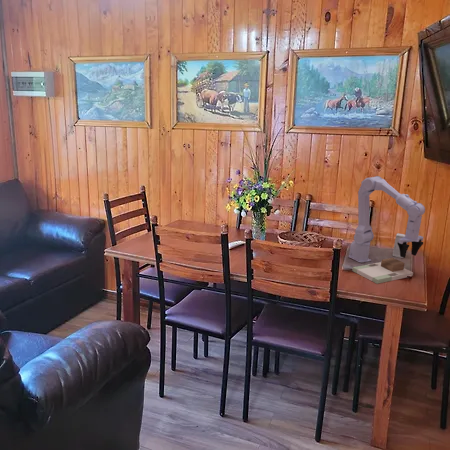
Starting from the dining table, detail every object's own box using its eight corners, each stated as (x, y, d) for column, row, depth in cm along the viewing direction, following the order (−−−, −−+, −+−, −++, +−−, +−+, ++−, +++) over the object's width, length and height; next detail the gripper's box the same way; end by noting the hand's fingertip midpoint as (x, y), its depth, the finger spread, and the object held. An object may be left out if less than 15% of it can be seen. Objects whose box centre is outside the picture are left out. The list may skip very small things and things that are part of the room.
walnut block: (380, 266, 218) (381, 259, 217) (391, 264, 222) (392, 257, 221) (392, 271, 212) (393, 265, 211) (403, 269, 215) (404, 262, 214)
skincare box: (391, 256, 239) (395, 234, 235) (393, 253, 243) (396, 232, 239) (403, 258, 236) (407, 237, 232) (405, 256, 240) (408, 235, 236)
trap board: (352, 271, 216) (352, 267, 215) (386, 264, 226) (387, 260, 226) (377, 283, 202) (377, 279, 202) (412, 276, 213) (413, 272, 212)
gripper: (408, 233, 201) (403, 260, 205) (430, 230, 207) (425, 256, 211) (396, 228, 207) (392, 255, 211) (418, 225, 213) (413, 251, 217)
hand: (408, 255), depth 212 cm, fingers open, 7 cm apart
